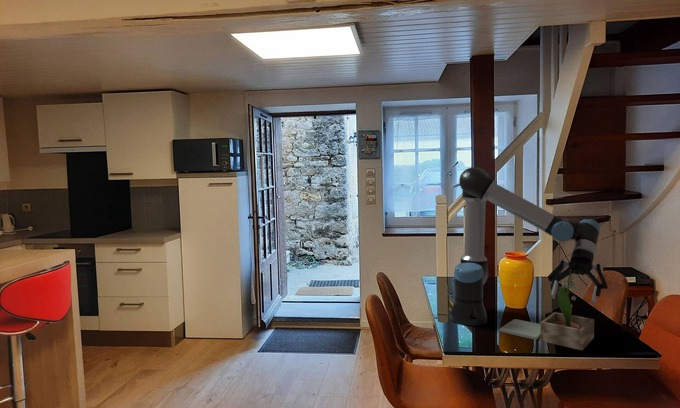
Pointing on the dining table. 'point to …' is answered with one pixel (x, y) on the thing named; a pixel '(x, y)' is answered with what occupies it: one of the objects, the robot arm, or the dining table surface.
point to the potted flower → (566, 304)
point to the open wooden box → (567, 331)
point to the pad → (522, 329)
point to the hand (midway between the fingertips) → (572, 299)
